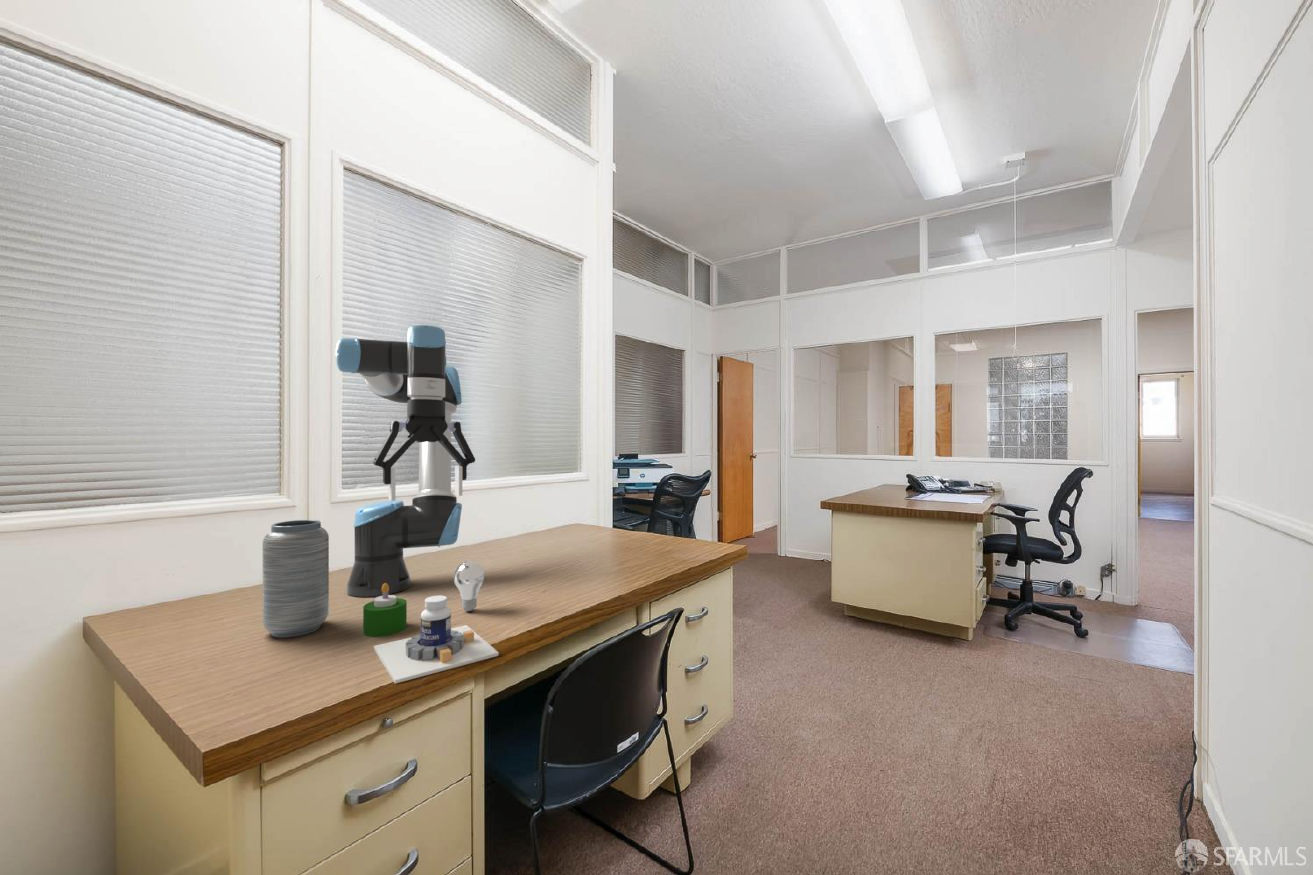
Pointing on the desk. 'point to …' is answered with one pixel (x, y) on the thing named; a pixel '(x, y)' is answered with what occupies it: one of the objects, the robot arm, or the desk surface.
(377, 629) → the candle
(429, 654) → the socket
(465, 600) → the light bulb
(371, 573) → the robot arm
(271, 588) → the vase
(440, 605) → the pill bottle
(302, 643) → the desk surface
